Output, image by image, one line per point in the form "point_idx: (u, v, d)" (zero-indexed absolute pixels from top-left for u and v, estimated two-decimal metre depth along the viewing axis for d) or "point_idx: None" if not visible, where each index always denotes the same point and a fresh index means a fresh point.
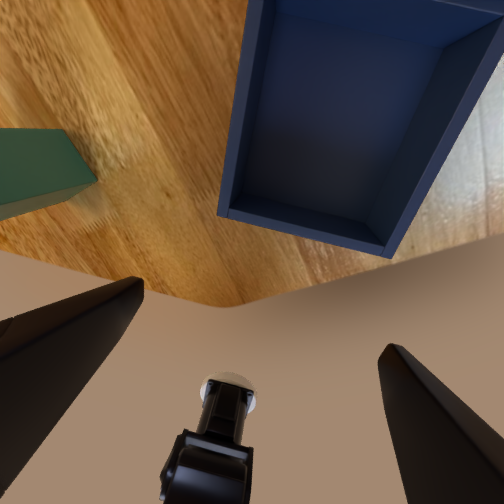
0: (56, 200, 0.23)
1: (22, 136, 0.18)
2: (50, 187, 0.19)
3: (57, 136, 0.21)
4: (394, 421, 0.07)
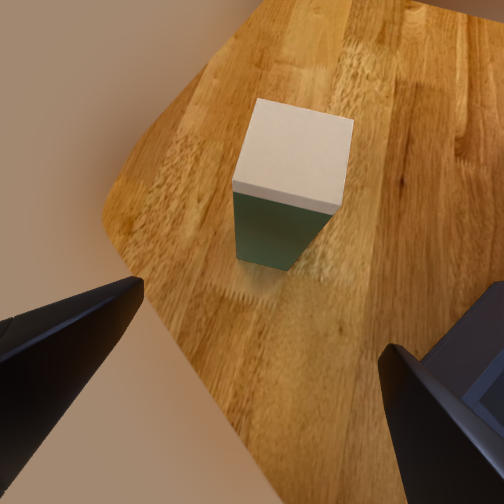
0: (254, 256, 0.21)
1: None
2: None
3: None
4: (394, 421, 0.07)
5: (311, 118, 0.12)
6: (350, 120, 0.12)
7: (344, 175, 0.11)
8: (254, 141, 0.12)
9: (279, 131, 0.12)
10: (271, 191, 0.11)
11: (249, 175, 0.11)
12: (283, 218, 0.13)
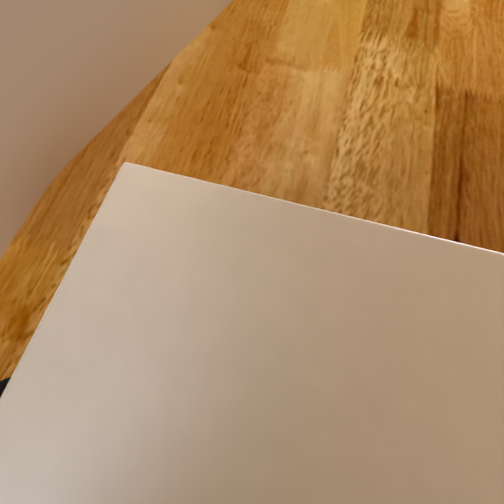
0: None
1: None
2: None
3: None
4: None
5: (335, 252, 0.03)
6: (501, 261, 0.03)
7: None
8: (54, 393, 0.02)
9: (185, 331, 0.03)
10: None
11: None
12: None
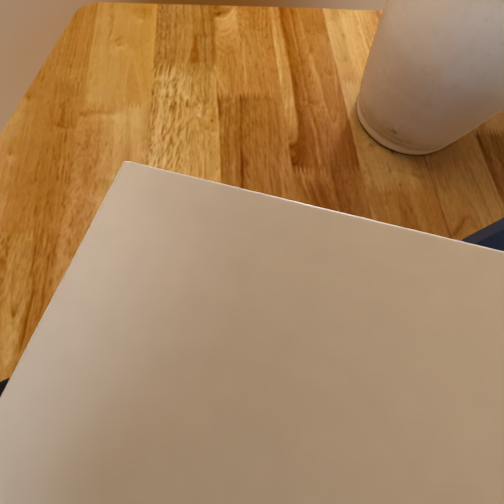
0: None
1: None
2: None
3: None
4: None
5: (335, 250, 0.03)
6: (500, 258, 0.03)
7: None
8: (55, 389, 0.02)
9: (185, 328, 0.03)
10: None
11: None
12: None
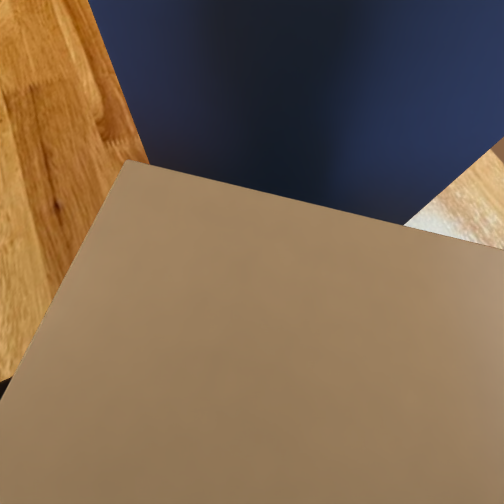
0: None
1: None
2: None
3: None
4: None
5: (337, 248, 0.03)
6: (503, 257, 0.03)
7: None
8: (58, 387, 0.02)
9: (189, 327, 0.03)
10: None
11: None
12: None
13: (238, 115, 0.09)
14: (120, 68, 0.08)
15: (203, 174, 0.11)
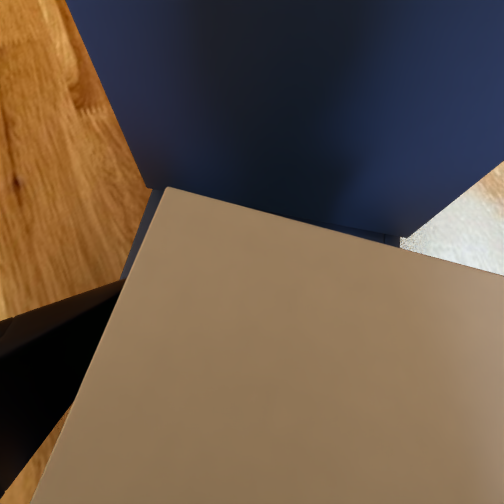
0: None
1: None
2: None
3: None
4: None
5: (376, 280, 0.03)
6: None
7: None
8: (116, 423, 0.02)
9: (239, 360, 0.03)
10: None
11: None
12: None
13: None
14: None
15: (182, 98, 0.08)
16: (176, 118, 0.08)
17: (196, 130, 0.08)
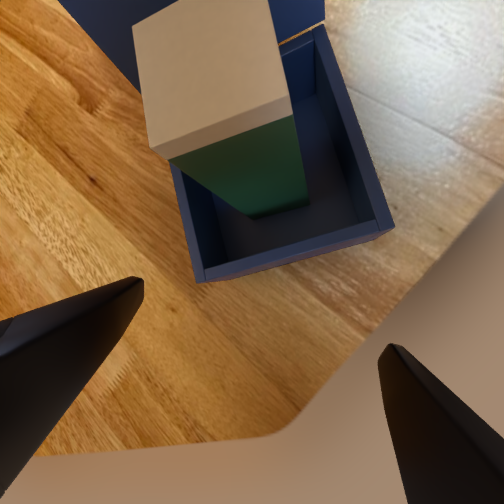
0: (264, 209, 0.18)
1: None
2: None
3: None
4: (394, 421, 0.07)
5: (202, 0, 0.08)
6: None
7: (276, 48, 0.07)
8: (151, 83, 0.09)
9: (173, 50, 0.09)
10: (198, 133, 0.08)
11: (163, 130, 0.08)
12: (246, 155, 0.10)
13: None
14: None
15: (132, 19, 0.13)
16: None
17: None
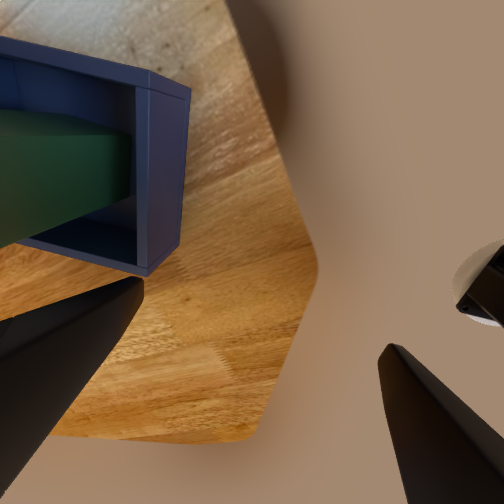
0: (112, 183, 0.18)
1: (23, 113, 0.15)
2: (75, 132, 0.14)
3: (66, 116, 0.17)
4: (394, 421, 0.07)
5: None
6: None
7: None
8: None
9: None
10: None
11: None
12: None
13: None
14: None
15: None
16: None
17: None
